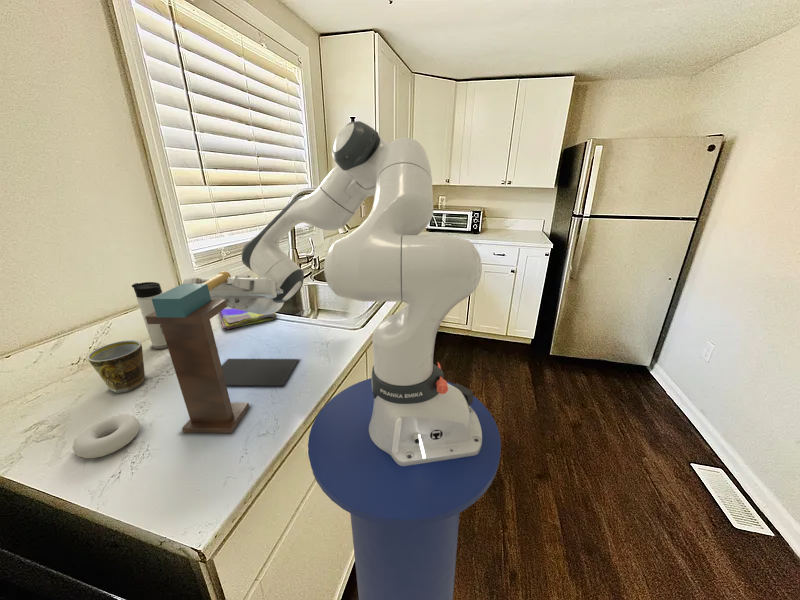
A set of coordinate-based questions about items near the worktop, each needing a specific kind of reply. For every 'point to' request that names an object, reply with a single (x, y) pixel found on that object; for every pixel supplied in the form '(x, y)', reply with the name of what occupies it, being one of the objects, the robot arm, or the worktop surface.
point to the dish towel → (242, 318)
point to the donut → (96, 446)
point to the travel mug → (150, 310)
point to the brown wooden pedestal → (200, 370)
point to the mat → (258, 371)
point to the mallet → (187, 297)
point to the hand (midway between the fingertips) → (211, 281)
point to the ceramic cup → (120, 365)
